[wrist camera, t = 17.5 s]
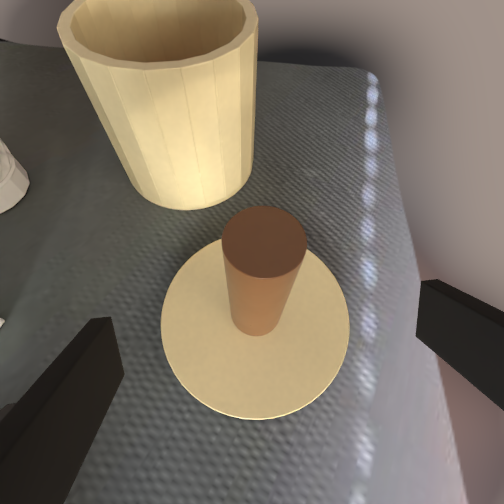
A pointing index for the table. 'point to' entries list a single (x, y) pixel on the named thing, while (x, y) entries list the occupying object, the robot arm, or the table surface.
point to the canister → (171, 91)
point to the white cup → (11, 179)
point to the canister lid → (255, 319)
